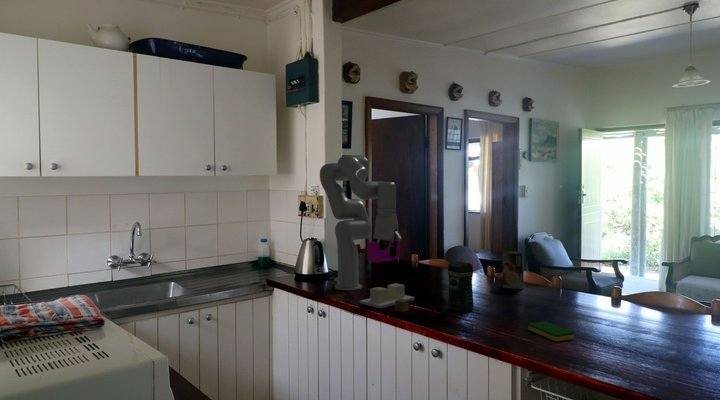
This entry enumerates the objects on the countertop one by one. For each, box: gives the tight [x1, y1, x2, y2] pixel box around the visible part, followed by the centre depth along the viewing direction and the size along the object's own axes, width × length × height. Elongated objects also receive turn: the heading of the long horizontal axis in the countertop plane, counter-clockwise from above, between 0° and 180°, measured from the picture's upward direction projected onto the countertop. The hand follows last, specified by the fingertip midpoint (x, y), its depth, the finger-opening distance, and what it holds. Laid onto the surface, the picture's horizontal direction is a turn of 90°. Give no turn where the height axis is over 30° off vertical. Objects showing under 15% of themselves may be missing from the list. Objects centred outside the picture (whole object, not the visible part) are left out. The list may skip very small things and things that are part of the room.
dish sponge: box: [527, 320, 575, 342], centre depth 168 cm, size 7×14×2 cm, turn 20°
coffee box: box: [501, 250, 525, 290], centre depth 237 cm, size 9×6×16 cm
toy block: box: [367, 241, 401, 264], centre depth 213 cm, size 15×6×8 cm, turn 132°
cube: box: [394, 299, 410, 313], centre depth 200 cm, size 4×4×4 cm
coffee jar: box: [447, 260, 474, 313], centre depth 200 cm, size 10×8×19 cm
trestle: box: [359, 283, 416, 309], centre depth 214 cm, size 12×20×6 cm, turn 132°
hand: (387, 255), depth 214 cm, fingers closed on toy block, 6 cm apart
